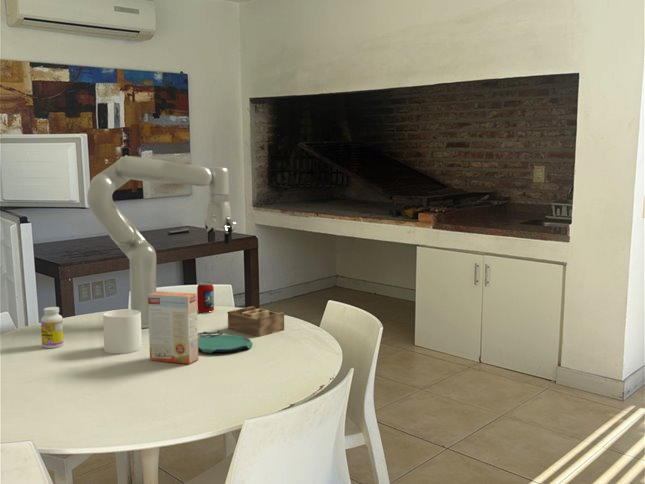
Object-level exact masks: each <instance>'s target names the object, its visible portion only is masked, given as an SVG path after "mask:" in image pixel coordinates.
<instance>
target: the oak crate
mask: <svg viewBox="0 0 645 484" xmlns="http://www.w3.org/2000/svg"><path fill="white" fill-rule="evenodd" d="M269 311H270V310H268V309H263V308H256V310H251V311H247V312H243V313H242V316H246V317H251V318H256V319H258V318H260V317H264V316H268V315H269Z"/></svg>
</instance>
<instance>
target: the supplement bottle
mask: <svg viewBox="0 0 645 484" xmlns="http://www.w3.org/2000/svg"><path fill="white" fill-rule="evenodd" d="M43 313H44V315H43V316H42V317H41V319H40V327H41V329H40V330H41V347H42V348H43V349H57V348H60V347H62V346H63V345H64V324H63V323H64V321H63V320H64V319H63V316H62V315H61V314H59V313H60V307H59V306H50V307H49V306H48V307H45V308H43Z"/></svg>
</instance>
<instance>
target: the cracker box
mask: <svg viewBox="0 0 645 484" xmlns="http://www.w3.org/2000/svg"><path fill="white" fill-rule="evenodd" d="M148 310H149V328H148V335H149V337H148V338H149V340H148V341H149V361H156V362H164V363H175V364H183V365H191V364H192V363H194V362H196V361H198V360H199V350H198V338H199V337H198V333H199V328H198V304H197V293H190V292H187V293H186V292H175V291H174V292H172V291H156V292H154V293H151V294H148Z"/></svg>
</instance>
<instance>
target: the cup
mask: <svg viewBox="0 0 645 484" xmlns="http://www.w3.org/2000/svg"><path fill="white" fill-rule="evenodd" d="M102 317H103V318H102V321H103V325H102V326H103V346H104V347H103V349H104V352H105V353H107V354H111V355H126V354H131V353H135V352H138V351H141V349H142V347H143V344H142V341H143V340H142V337H143V336H142V328H141V312H140V311H138V310H131V308H130V309H129V308H128V309H126V308H125V309H115V310H110V311H107V312H106V311H105V312H104V313H103V315H102Z"/></svg>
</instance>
